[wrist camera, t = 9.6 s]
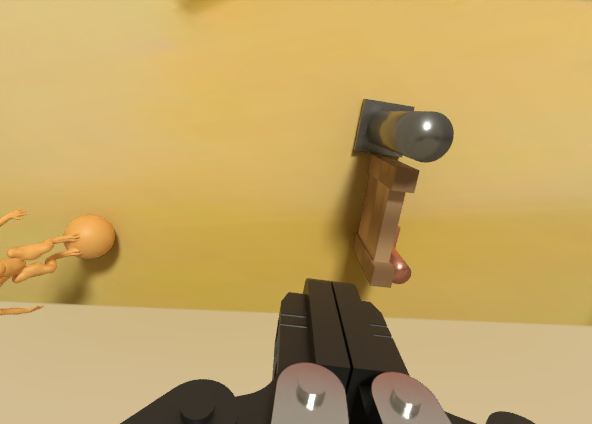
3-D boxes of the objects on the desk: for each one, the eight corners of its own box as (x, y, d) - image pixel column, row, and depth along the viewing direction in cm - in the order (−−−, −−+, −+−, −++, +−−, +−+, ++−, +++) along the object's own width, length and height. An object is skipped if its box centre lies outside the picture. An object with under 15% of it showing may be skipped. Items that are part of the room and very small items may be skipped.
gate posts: (429, 110, 28) (500, 109, 19) (389, 258, 33) (431, 319, 23) (363, 99, 28) (402, 93, 18) (332, 250, 32) (351, 309, 23)
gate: (371, 154, 28) (396, 167, 22) (388, 156, 29) (419, 170, 22) (352, 248, 31) (370, 285, 25) (368, 250, 31) (390, 287, 25)
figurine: (125, 268, 32) (37, 355, 21) (64, 264, 32) (-59, 349, 21) (119, 189, 30) (14, 238, 18) (53, 184, 30) (-95, 230, 18)
